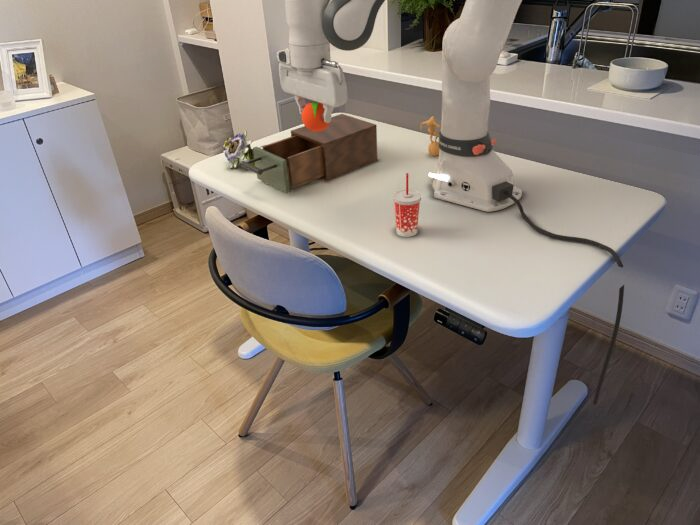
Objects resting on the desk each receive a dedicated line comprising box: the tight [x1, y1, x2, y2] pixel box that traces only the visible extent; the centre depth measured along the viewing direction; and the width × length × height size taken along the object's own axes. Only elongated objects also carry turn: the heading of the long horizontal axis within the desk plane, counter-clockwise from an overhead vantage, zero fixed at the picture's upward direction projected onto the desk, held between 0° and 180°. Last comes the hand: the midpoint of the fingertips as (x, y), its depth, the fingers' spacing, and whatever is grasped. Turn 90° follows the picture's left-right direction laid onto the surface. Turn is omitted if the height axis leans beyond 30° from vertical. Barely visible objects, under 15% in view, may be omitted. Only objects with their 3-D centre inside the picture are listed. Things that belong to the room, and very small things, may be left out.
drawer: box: [240, 135, 325, 194], centre depth 144 cm, size 23×13×9 cm, turn 131°
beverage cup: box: [392, 172, 422, 238], centre depth 118 cm, size 6×6×14 cm
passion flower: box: [222, 129, 266, 169], centre depth 156 cm, size 11×11×12 cm
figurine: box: [419, 115, 441, 157], centre depth 153 cm, size 8×6×12 cm
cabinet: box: [290, 113, 378, 182], centre depth 153 cm, size 19×15×11 cm
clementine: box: [301, 100, 330, 132], centre depth 127 cm, size 8×7×7 cm
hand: (315, 117), depth 127 cm, fingers closed on clementine, 7 cm apart
